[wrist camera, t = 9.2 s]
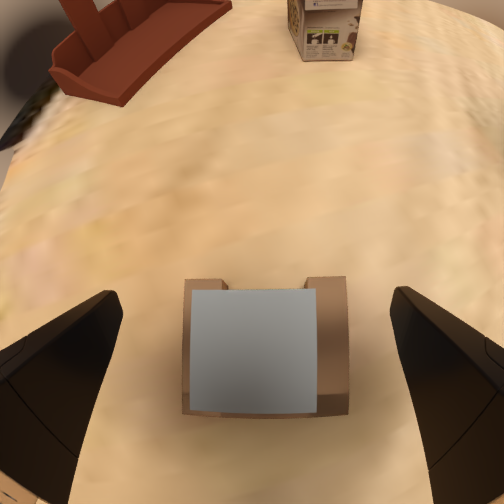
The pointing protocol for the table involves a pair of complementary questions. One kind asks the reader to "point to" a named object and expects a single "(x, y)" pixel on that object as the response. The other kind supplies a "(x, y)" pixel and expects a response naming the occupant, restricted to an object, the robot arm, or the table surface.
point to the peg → (253, 351)
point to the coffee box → (324, 28)
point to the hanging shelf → (125, 43)
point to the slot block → (328, 348)
